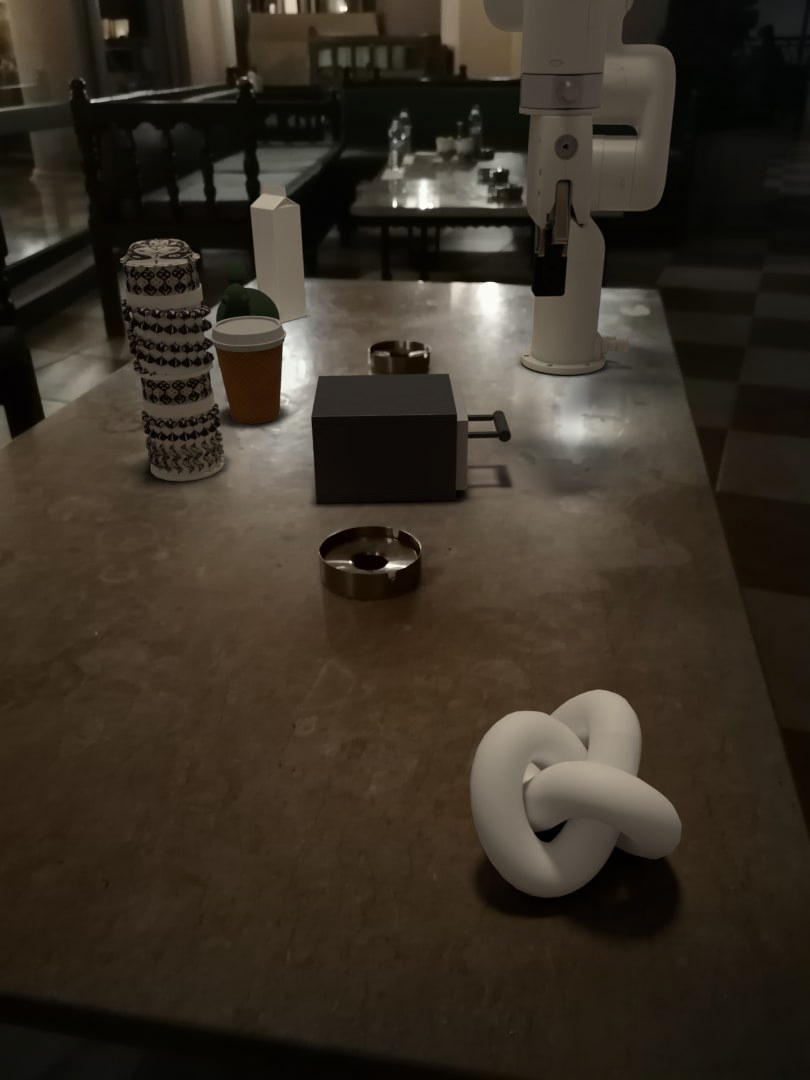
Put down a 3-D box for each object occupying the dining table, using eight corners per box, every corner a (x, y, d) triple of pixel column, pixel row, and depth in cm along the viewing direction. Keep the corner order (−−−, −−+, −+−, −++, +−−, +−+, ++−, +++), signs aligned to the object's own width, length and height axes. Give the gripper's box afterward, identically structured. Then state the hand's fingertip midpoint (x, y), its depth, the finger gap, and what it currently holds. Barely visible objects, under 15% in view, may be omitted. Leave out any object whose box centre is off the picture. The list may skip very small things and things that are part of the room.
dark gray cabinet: (447, 453, 108) (448, 373, 103) (455, 500, 96) (457, 413, 92) (323, 455, 107) (318, 375, 103) (316, 503, 96) (311, 416, 91)
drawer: (499, 446, 107) (502, 382, 103) (512, 489, 97) (516, 419, 93) (342, 449, 106) (339, 385, 103) (338, 492, 96) (335, 422, 92)
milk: (281, 323, 158) (271, 189, 148) (259, 317, 162) (247, 186, 151) (307, 316, 162) (298, 185, 152) (285, 310, 166) (275, 182, 155)
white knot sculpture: (529, 965, 48) (540, 844, 43) (427, 812, 57) (428, 700, 53) (697, 889, 52) (722, 771, 48) (576, 758, 62) (588, 651, 57)
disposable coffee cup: (278, 431, 114) (271, 337, 108) (207, 426, 116) (196, 333, 110) (301, 405, 122) (295, 316, 117) (234, 400, 124) (225, 313, 118)
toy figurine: (281, 408, 126) (283, 340, 147) (269, 272, 115) (273, 220, 136) (212, 411, 125) (224, 343, 146) (195, 275, 115) (210, 222, 135)
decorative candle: (130, 476, 103) (91, 248, 91) (175, 446, 110) (145, 232, 98) (200, 487, 100) (170, 254, 88) (241, 455, 107) (219, 237, 95)
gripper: (619, 101, 77) (599, 314, 86) (585, 89, 90) (570, 276, 99) (531, 102, 77) (520, 315, 86) (510, 90, 90) (502, 277, 99)
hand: (547, 294), depth 93 cm, fingers closed
